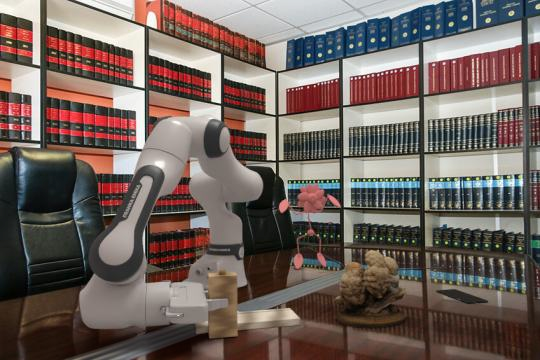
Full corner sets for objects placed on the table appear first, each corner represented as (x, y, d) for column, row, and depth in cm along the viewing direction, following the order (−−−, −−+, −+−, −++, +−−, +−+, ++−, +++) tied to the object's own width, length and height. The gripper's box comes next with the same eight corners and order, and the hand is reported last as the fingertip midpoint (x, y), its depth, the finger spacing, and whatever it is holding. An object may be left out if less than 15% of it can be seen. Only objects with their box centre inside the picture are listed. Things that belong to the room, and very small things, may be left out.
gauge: (209, 338, 87) (209, 272, 87) (205, 321, 98) (205, 263, 99) (237, 336, 88) (237, 270, 89) (230, 319, 100) (230, 261, 100)
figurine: (276, 268, 169) (276, 183, 170) (334, 264, 176) (334, 183, 176) (287, 275, 154) (287, 183, 155) (350, 272, 161) (350, 183, 161)
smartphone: (467, 302, 112) (434, 290, 127) (467, 305, 112) (435, 293, 127) (489, 300, 113) (454, 288, 128) (489, 303, 113) (454, 291, 128)
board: (196, 333, 90) (196, 326, 91) (194, 321, 99) (194, 315, 99) (300, 324, 96) (300, 318, 96) (290, 314, 105) (289, 307, 105)
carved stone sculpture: (393, 310, 107) (392, 245, 108) (419, 325, 96) (418, 251, 96) (328, 315, 103) (328, 247, 104) (347, 331, 92) (347, 254, 92)
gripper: (159, 301, 77) (232, 296, 80) (163, 278, 97) (221, 275, 100) (159, 334, 77) (232, 328, 80) (163, 305, 97) (221, 301, 100)
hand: (226, 299), depth 90 cm, fingers closed on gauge, 4 cm apart
